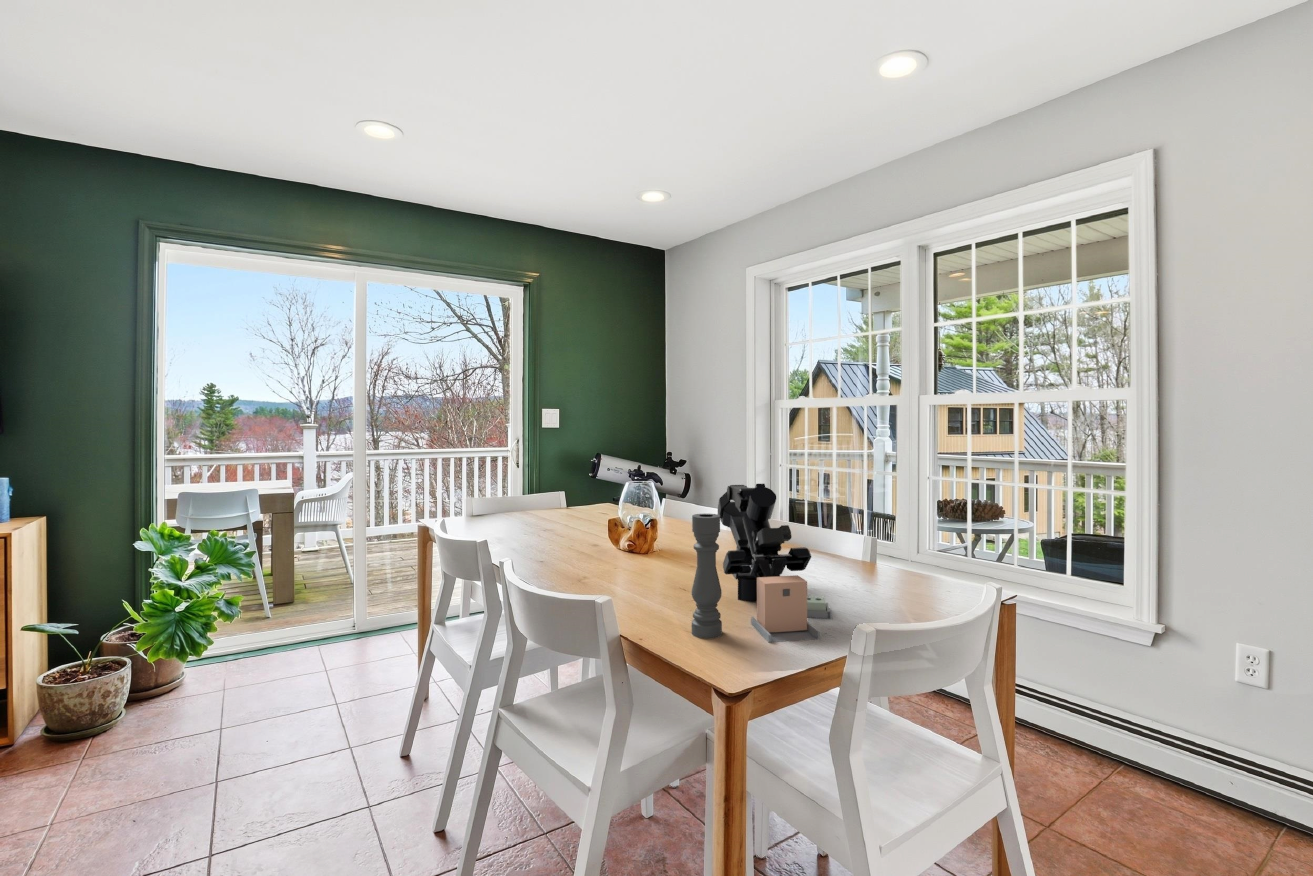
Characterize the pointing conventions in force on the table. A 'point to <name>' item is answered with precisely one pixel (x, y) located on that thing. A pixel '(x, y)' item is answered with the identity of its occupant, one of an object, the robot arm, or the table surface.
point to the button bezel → (820, 613)
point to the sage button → (816, 603)
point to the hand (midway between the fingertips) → (776, 595)
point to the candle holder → (706, 577)
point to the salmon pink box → (782, 603)
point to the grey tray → (787, 633)
